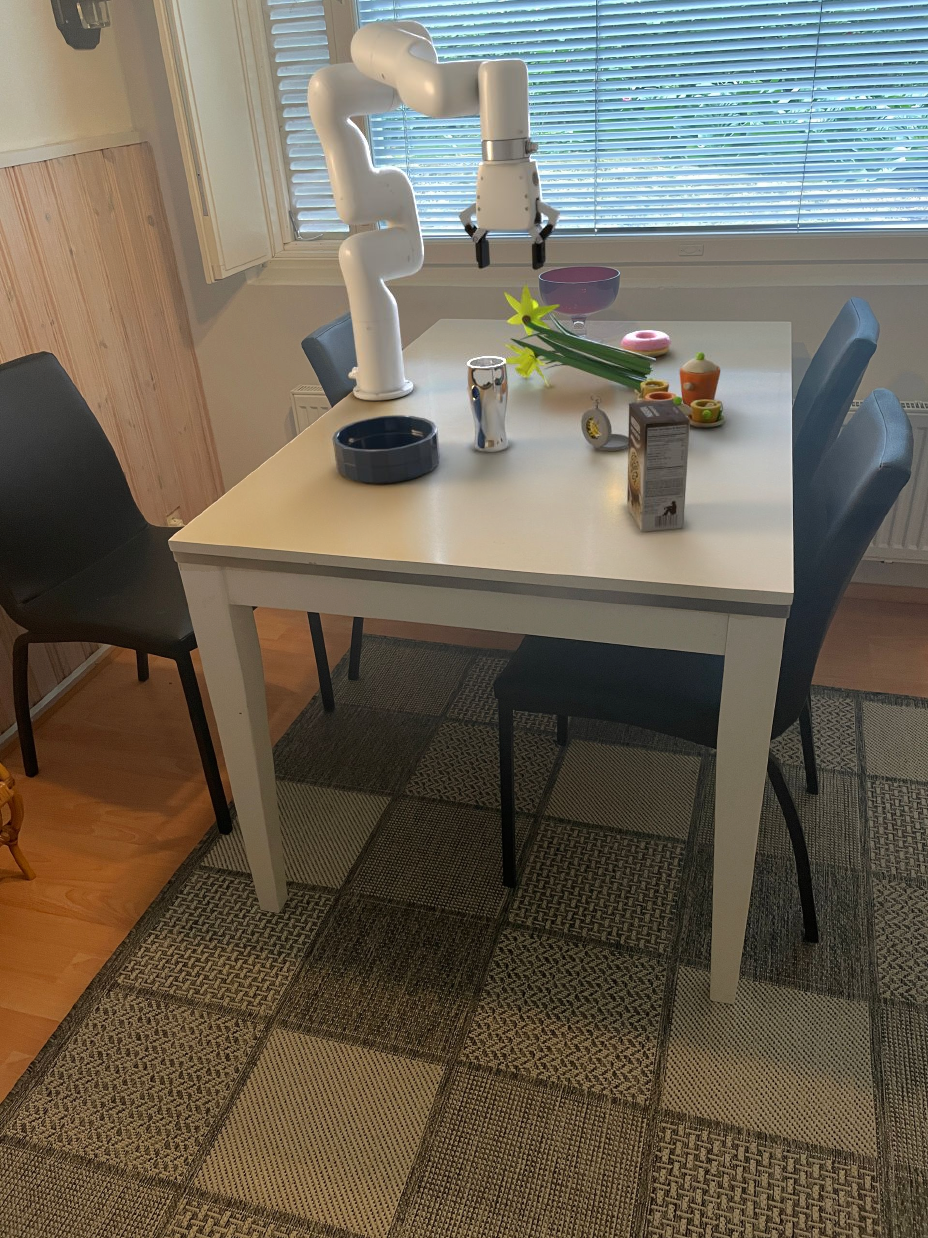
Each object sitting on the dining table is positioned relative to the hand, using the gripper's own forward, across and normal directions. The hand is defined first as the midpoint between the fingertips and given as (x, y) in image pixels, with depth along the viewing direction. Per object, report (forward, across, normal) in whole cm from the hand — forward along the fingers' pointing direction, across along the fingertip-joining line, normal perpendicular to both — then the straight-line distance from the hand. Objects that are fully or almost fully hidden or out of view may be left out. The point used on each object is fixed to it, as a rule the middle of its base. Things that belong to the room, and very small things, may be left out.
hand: (510, 267), depth 154 cm
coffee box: (+30, -32, +25) cm, 51 cm away
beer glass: (+30, +3, +5) cm, 30 cm away
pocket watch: (+30, -16, 0) cm, 34 cm away
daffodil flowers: (+30, +1, -35) cm, 45 cm away
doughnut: (+30, -6, -59) cm, 66 cm away
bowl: (+29, +16, +18) cm, 38 cm away
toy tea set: (+30, -25, -19) cm, 43 cm away
